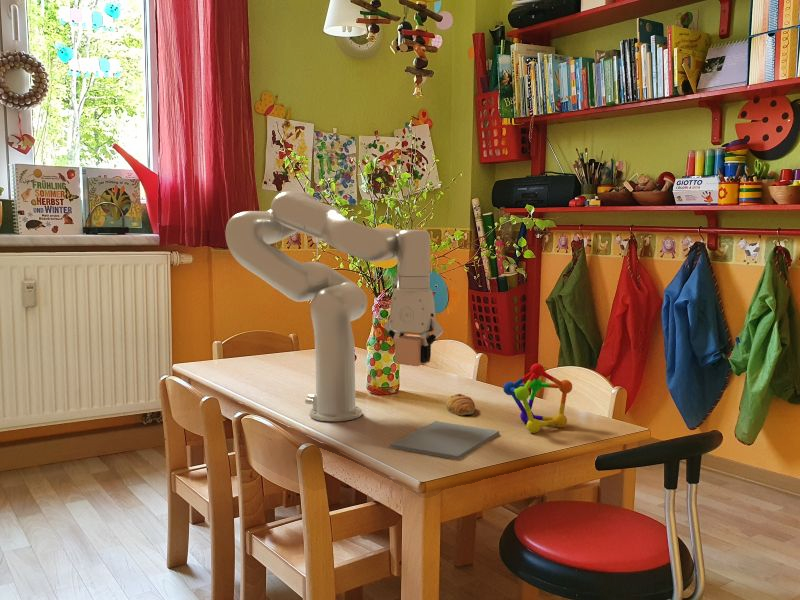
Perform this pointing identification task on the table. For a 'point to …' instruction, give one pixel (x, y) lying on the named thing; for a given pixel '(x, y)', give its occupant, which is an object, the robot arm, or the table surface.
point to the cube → (408, 350)
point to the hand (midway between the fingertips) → (412, 359)
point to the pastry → (460, 404)
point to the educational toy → (522, 394)
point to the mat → (445, 440)
